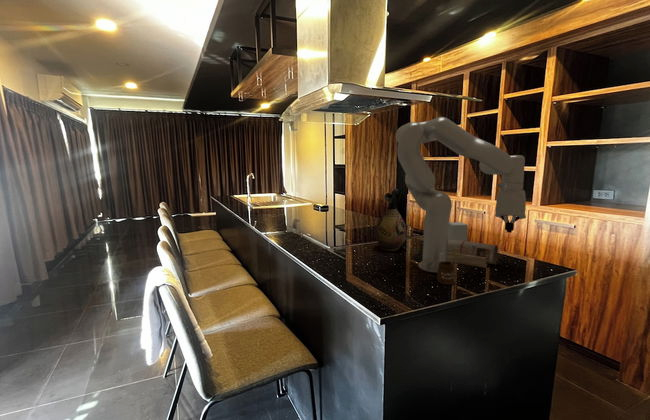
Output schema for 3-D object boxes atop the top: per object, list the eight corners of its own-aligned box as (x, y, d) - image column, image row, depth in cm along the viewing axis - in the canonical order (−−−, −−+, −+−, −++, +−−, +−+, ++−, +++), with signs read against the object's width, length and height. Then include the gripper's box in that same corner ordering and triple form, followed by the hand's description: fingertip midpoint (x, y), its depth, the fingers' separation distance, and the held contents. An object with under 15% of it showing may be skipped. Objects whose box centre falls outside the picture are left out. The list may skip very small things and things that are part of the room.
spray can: (494, 269, 128) (444, 259, 140) (498, 259, 134) (449, 251, 146) (495, 251, 125) (444, 242, 137) (499, 242, 131) (449, 234, 143)
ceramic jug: (398, 255, 148) (399, 191, 143) (369, 250, 157) (369, 190, 153) (412, 247, 161) (413, 188, 157) (385, 242, 170) (385, 187, 166)
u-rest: (485, 267, 128) (485, 258, 128) (430, 259, 141) (431, 250, 140) (490, 259, 139) (491, 250, 138) (439, 251, 152) (439, 243, 151)
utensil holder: (434, 279, 117) (435, 247, 115) (450, 278, 117) (452, 247, 115) (441, 285, 111) (442, 252, 109) (458, 284, 111) (459, 251, 110)
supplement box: (467, 250, 154) (468, 224, 152) (451, 250, 154) (452, 224, 153) (460, 246, 162) (462, 221, 160) (446, 246, 162) (447, 222, 160)
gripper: (489, 187, 126) (487, 231, 129) (534, 188, 118) (530, 236, 120) (492, 185, 132) (489, 228, 135) (534, 186, 124) (531, 232, 126)
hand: (509, 232), depth 128 cm, fingers closed
